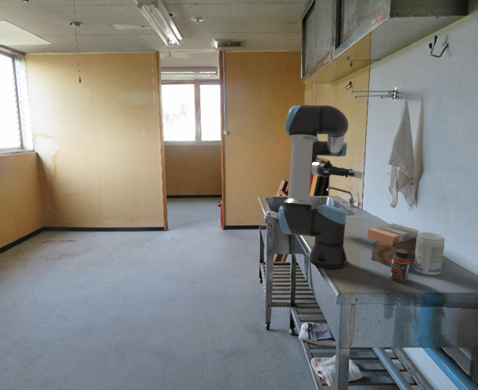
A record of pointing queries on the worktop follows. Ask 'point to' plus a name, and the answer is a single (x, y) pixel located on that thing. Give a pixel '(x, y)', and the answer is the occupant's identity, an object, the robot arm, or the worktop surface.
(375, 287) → the worktop surface
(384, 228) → the gray bar
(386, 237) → the orange rectangular bar
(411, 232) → the off-white bar
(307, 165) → the robot arm
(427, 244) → the supplement tub
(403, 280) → the supplement bottle
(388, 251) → the walnut key block
